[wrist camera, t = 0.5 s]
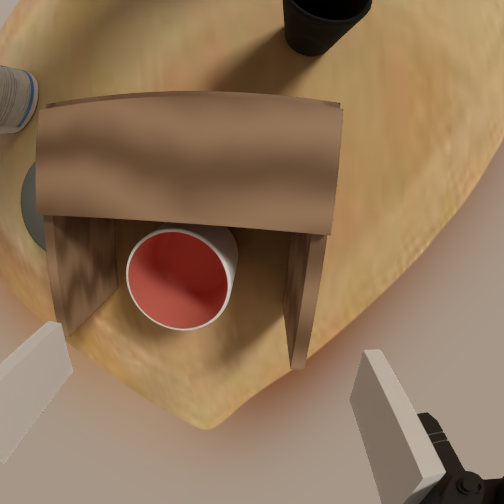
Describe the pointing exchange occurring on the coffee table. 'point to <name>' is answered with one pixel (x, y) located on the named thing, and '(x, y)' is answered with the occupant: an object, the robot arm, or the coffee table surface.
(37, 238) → the coaster
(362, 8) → the cup
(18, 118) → the supplement tub
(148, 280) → the cup
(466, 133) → the coffee table surface
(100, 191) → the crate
